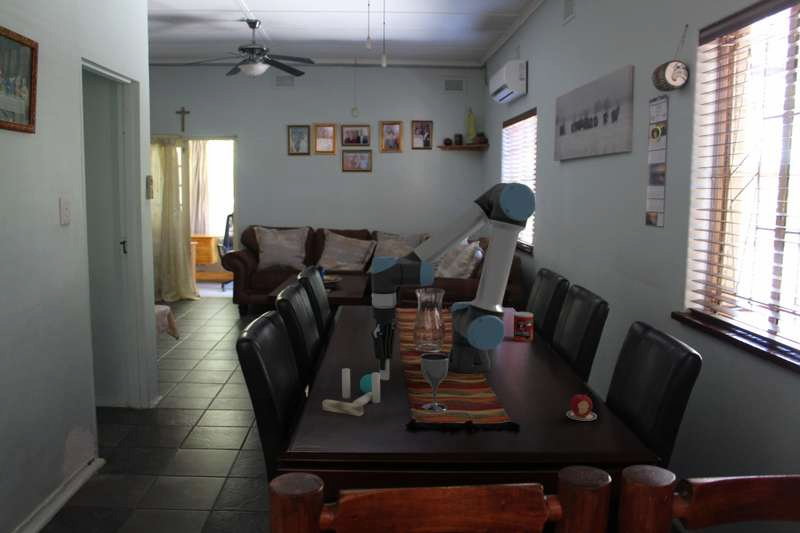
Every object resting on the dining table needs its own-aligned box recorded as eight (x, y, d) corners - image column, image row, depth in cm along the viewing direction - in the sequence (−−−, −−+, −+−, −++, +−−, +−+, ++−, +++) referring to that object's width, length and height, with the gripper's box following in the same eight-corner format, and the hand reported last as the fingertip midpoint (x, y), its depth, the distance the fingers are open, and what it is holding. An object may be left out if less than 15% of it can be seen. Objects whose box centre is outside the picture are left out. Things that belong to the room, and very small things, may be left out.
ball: (372, 390, 192) (378, 398, 197) (378, 372, 195) (384, 381, 200) (354, 387, 195) (361, 395, 199) (360, 369, 198) (367, 378, 202)
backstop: (363, 413, 180) (363, 405, 180) (359, 416, 179) (359, 407, 178) (326, 407, 186) (326, 399, 185) (322, 409, 184) (322, 401, 183)
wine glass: (440, 414, 180) (440, 361, 178) (415, 409, 184) (415, 357, 182) (453, 406, 187) (453, 355, 185) (429, 401, 191) (429, 351, 189)
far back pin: (351, 396, 195) (351, 368, 194) (347, 398, 193) (347, 371, 192) (344, 395, 196) (344, 368, 195) (340, 397, 194) (340, 370, 193)
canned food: (511, 341, 263) (512, 314, 261) (515, 337, 270) (516, 311, 269) (530, 343, 260) (531, 316, 259) (534, 338, 267) (534, 312, 266)
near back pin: (381, 401, 191) (381, 372, 190) (377, 403, 189) (377, 375, 188) (374, 399, 192) (374, 371, 191) (370, 402, 190) (370, 374, 189)
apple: (603, 418, 177) (603, 395, 176) (582, 424, 172) (583, 400, 172) (580, 410, 183) (581, 387, 182) (560, 415, 179) (560, 392, 178)
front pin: (370, 401, 193) (356, 410, 185) (365, 395, 193) (351, 404, 186) (375, 396, 192) (361, 405, 184) (370, 390, 192) (355, 398, 185)
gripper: (382, 301, 211) (383, 372, 214) (363, 308, 199) (364, 383, 202) (403, 303, 208) (403, 375, 211) (385, 310, 196) (385, 386, 199)
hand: (384, 379), depth 206 cm, fingers closed
